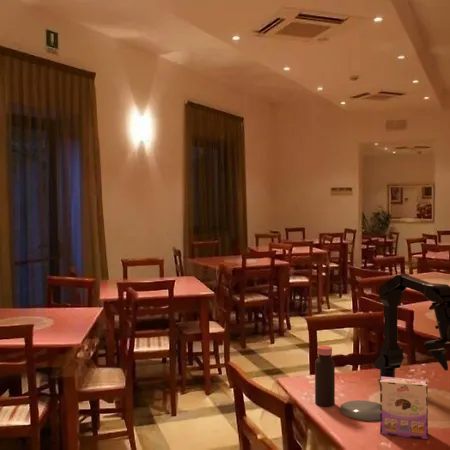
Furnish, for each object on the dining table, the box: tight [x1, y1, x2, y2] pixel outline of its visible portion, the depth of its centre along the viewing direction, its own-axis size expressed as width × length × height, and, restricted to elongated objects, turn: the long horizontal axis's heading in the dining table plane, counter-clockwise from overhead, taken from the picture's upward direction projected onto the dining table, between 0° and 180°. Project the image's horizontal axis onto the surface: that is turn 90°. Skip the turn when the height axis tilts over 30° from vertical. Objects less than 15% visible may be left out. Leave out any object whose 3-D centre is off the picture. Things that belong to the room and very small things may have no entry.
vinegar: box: [314, 345, 336, 407], centre depth 189 cm, size 7×7×20 cm
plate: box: [339, 399, 380, 422], centre depth 181 cm, size 16×16×1 cm
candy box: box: [379, 376, 429, 440], centre depth 164 cm, size 14×6×16 cm, turn 71°
